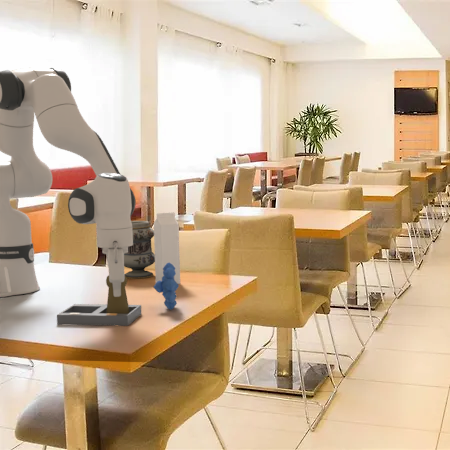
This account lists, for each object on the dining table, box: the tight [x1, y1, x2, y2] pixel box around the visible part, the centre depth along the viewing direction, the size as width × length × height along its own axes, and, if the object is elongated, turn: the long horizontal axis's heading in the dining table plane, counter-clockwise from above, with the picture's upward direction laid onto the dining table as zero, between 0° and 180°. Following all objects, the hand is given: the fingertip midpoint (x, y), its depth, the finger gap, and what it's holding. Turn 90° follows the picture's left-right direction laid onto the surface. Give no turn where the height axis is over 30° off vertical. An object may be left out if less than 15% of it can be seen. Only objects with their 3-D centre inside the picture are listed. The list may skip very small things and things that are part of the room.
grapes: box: [153, 263, 180, 310], centre depth 199 cm, size 12×7×12 cm, turn 5°
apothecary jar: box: [124, 220, 155, 280], centre depth 247 cm, size 12×12×18 cm
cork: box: [105, 274, 129, 314], centre depth 188 cm, size 6×6×11 cm
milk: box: [153, 212, 181, 285], centre depth 233 cm, size 6×6×22 cm
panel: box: [56, 303, 143, 327], centre depth 189 cm, size 18×12×3 cm, turn 81°
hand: (117, 293), depth 187 cm, fingers closed on cork, 4 cm apart
